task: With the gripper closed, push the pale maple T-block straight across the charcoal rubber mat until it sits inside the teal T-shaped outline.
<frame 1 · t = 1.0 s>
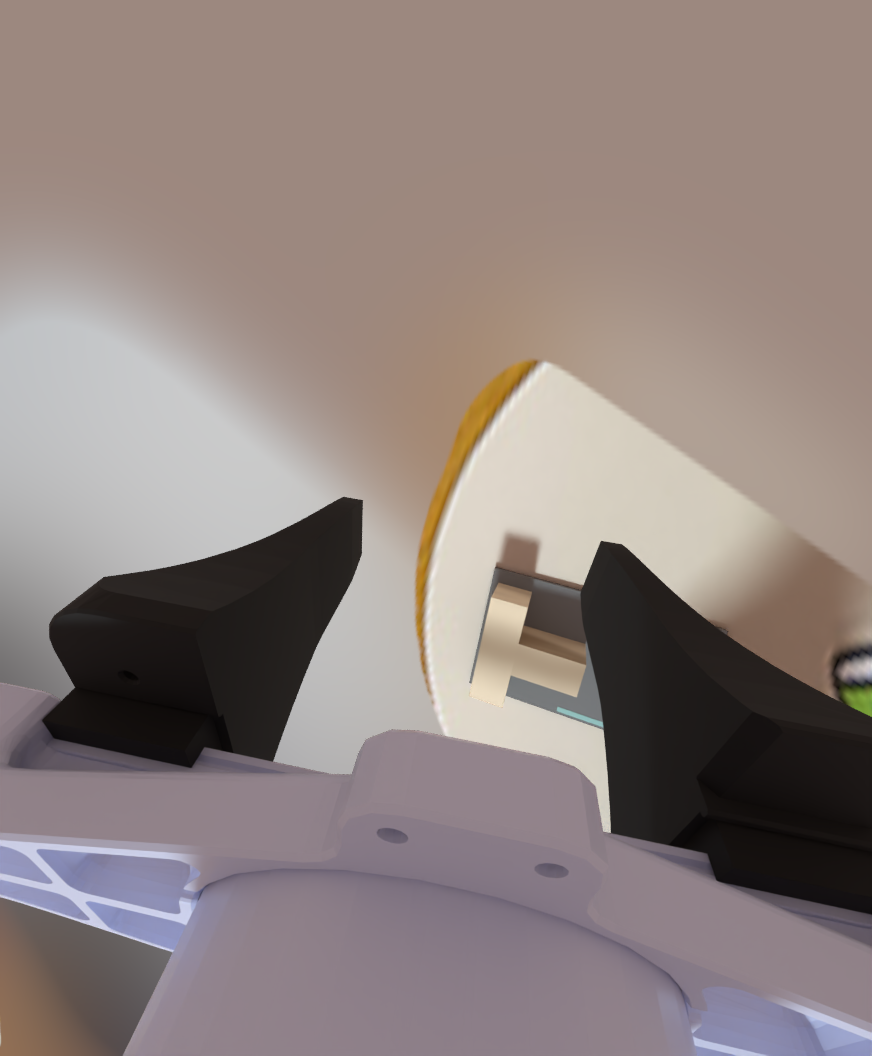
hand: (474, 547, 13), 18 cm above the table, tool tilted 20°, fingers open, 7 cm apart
t block: (533, 644, 32), resting on mat
mat: (584, 658, 31), on the table
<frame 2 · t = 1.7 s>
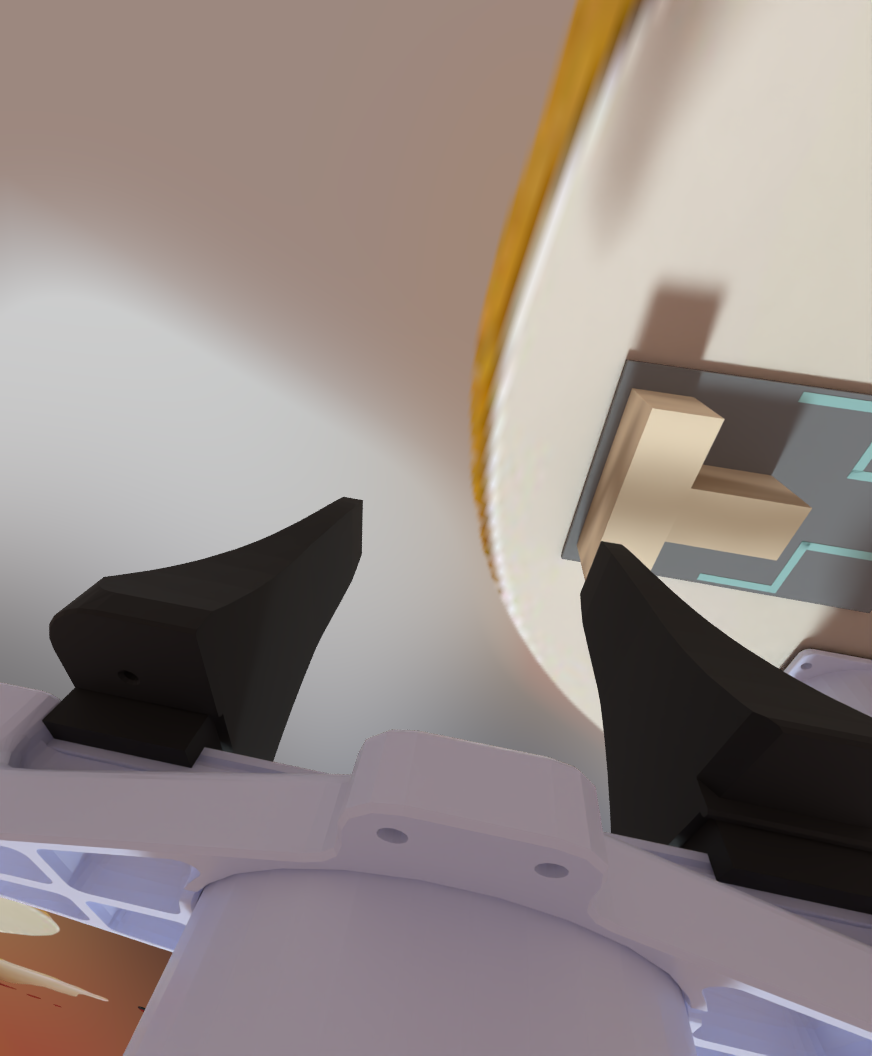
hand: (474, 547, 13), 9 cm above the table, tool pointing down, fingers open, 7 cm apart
t block: (678, 487, 19), resting on mat
mat: (759, 498, 19), on the table
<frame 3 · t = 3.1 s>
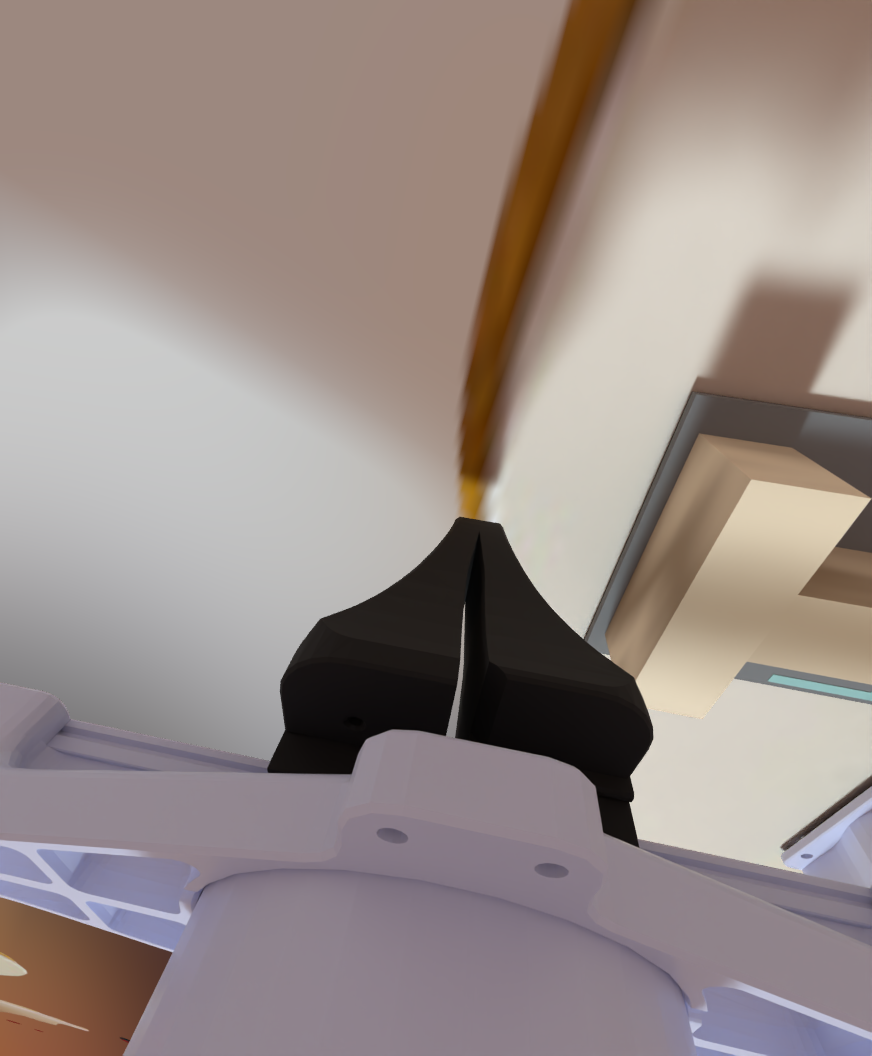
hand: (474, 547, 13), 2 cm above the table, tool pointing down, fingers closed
t block: (754, 568, 14), resting on mat
mat: (868, 583, 14), on the table
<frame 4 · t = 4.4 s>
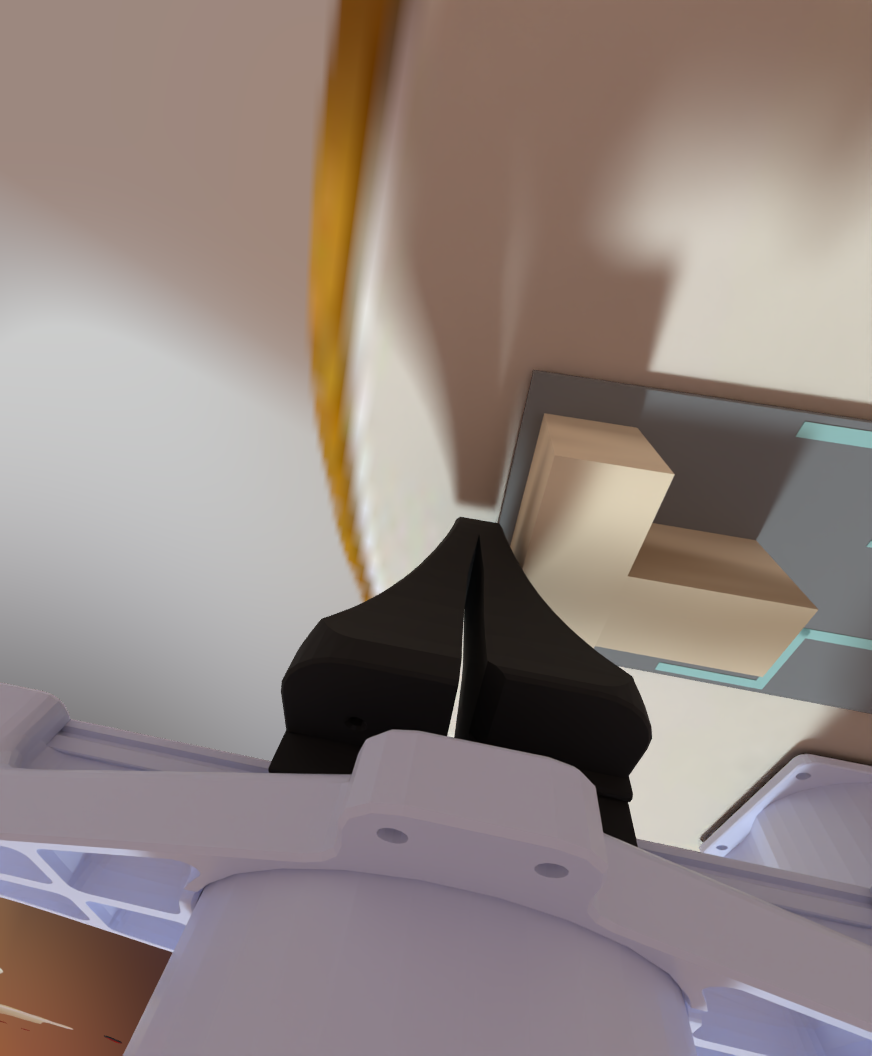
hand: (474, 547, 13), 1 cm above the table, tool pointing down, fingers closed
t block: (622, 553, 13), resting on mat, touching gripper
mat: (738, 568, 13), on the table
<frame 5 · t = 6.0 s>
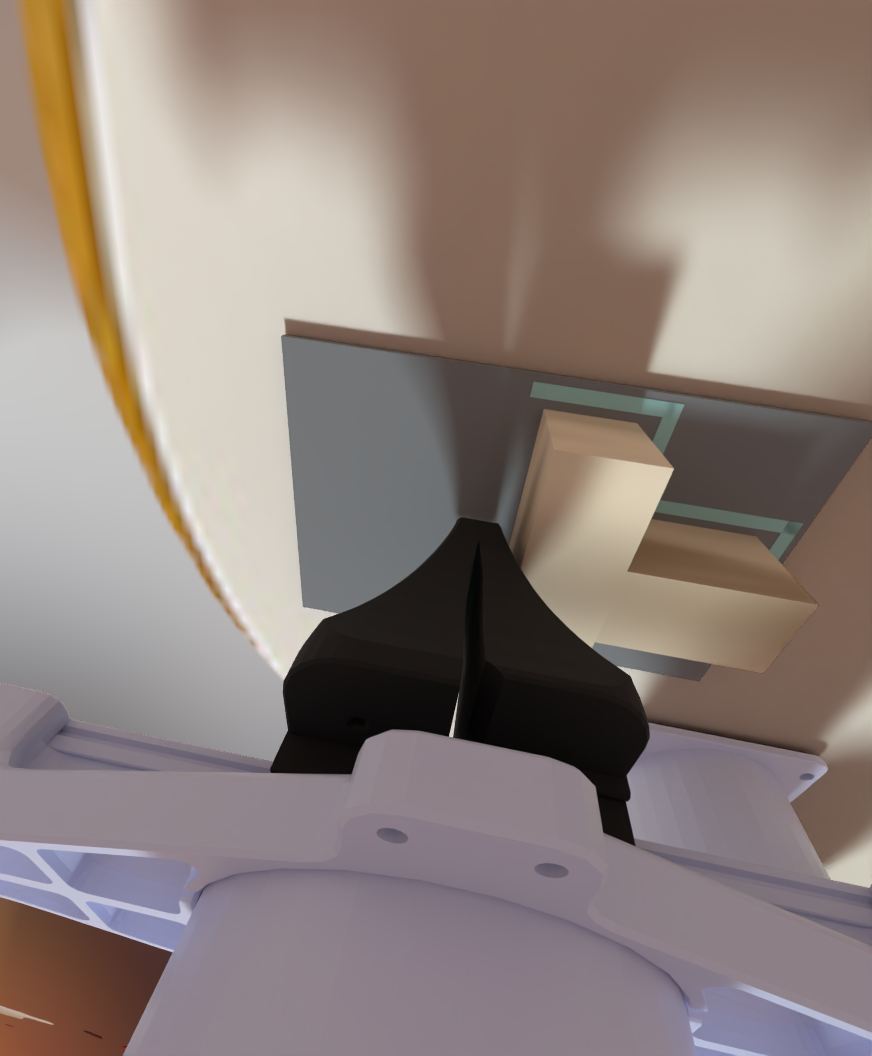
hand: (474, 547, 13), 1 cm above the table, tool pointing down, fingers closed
t block: (622, 549, 13), resting on mat, touching gripper
mat: (524, 532, 14), on the table
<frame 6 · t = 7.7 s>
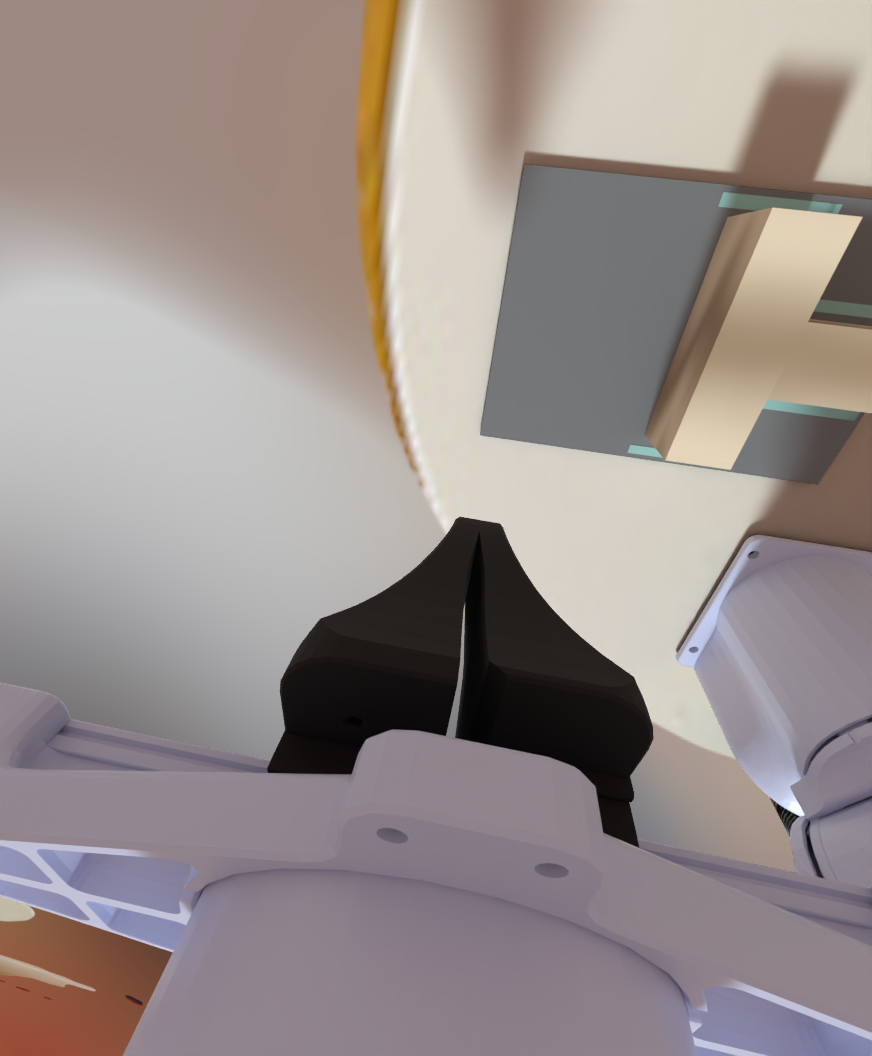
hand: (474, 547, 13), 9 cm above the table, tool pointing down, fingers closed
supplement bottle: (796, 726, 28), on the table
t block: (770, 351, 17), resting on mat
mat: (686, 343, 17), on the table
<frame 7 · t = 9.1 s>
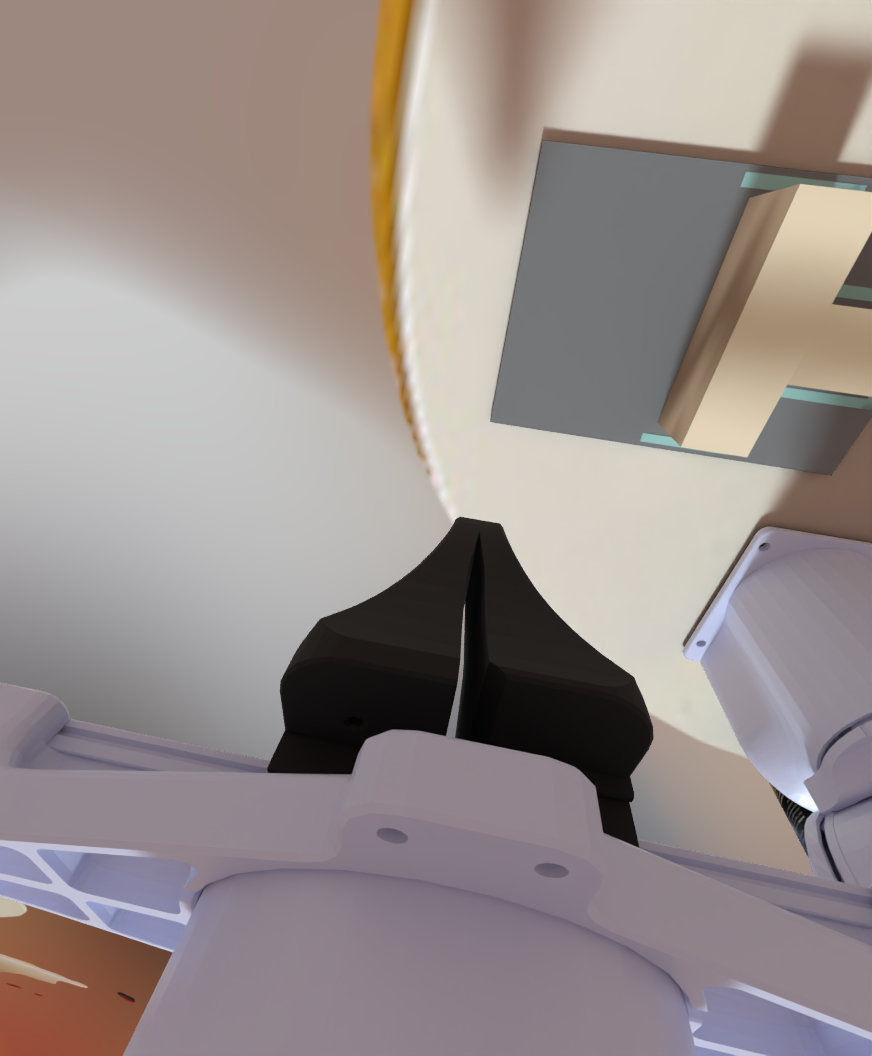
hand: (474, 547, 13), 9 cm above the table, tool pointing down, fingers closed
supplement bottle: (801, 722, 28), on the table
t block: (788, 337, 16), resting on mat
mat: (703, 329, 17), on the table
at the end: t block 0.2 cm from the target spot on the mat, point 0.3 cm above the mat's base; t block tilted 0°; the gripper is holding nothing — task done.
